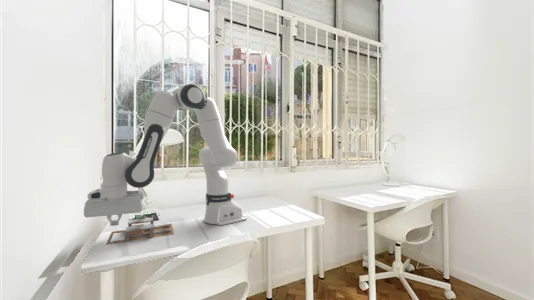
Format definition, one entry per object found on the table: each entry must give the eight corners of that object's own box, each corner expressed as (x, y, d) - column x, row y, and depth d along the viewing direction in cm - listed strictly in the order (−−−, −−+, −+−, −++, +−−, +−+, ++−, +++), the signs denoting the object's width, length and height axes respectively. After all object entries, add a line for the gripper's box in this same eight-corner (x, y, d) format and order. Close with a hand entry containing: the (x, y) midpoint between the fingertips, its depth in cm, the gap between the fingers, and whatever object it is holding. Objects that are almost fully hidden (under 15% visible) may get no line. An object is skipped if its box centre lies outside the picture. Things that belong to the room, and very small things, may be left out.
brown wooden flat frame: (171, 226, 114) (171, 214, 114) (174, 237, 102) (174, 224, 101) (111, 235, 104) (111, 222, 103) (106, 248, 91) (105, 233, 91)
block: (143, 230, 105) (143, 224, 105) (143, 234, 100) (143, 227, 100) (130, 232, 103) (130, 225, 103) (129, 236, 98) (129, 229, 98)
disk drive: (159, 224, 119) (155, 215, 132) (159, 218, 119) (155, 210, 132) (136, 228, 114) (133, 218, 126) (135, 222, 114) (133, 213, 126)
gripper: (143, 188, 105) (143, 219, 105) (86, 192, 96) (86, 225, 96) (143, 191, 99) (142, 224, 99) (82, 195, 90) (82, 231, 90)
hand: (114, 225), depth 98 cm, fingers closed
